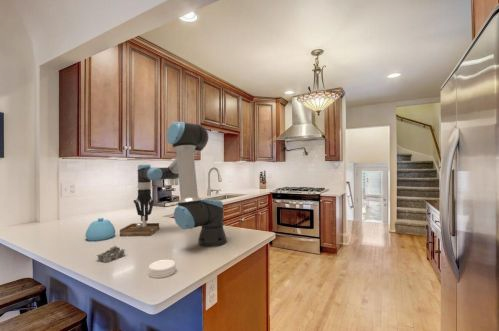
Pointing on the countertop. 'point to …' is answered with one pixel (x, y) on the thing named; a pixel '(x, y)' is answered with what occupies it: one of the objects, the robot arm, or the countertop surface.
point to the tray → (139, 230)
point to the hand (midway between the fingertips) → (144, 226)
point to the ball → (138, 225)
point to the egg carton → (111, 254)
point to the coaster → (162, 268)
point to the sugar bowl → (100, 230)
